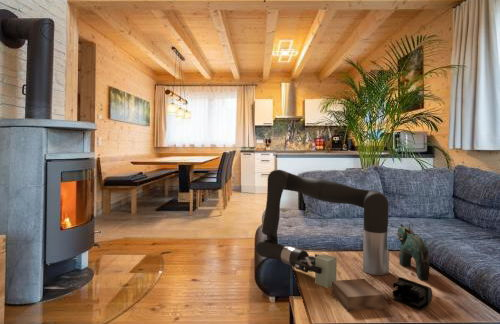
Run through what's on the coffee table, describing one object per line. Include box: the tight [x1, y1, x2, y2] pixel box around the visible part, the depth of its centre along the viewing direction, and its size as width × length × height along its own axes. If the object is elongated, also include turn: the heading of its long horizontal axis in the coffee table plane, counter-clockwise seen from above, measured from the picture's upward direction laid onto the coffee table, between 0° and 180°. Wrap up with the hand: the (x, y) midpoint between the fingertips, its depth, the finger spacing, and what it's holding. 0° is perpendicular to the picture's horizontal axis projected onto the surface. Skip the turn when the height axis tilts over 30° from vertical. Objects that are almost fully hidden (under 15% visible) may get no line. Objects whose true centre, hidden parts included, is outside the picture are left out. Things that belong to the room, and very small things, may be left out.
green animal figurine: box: [396, 222, 431, 282], centre depth 128 cm, size 20×6×20 cm, turn 178°
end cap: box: [392, 276, 433, 312], centre depth 102 cm, size 10×7×7 cm
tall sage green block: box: [314, 253, 338, 289], centre depth 116 cm, size 6×6×10 cm
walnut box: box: [331, 278, 385, 313], centre depth 103 cm, size 12×12×5 cm
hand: (327, 268), depth 116 cm, fingers open, 8 cm apart
